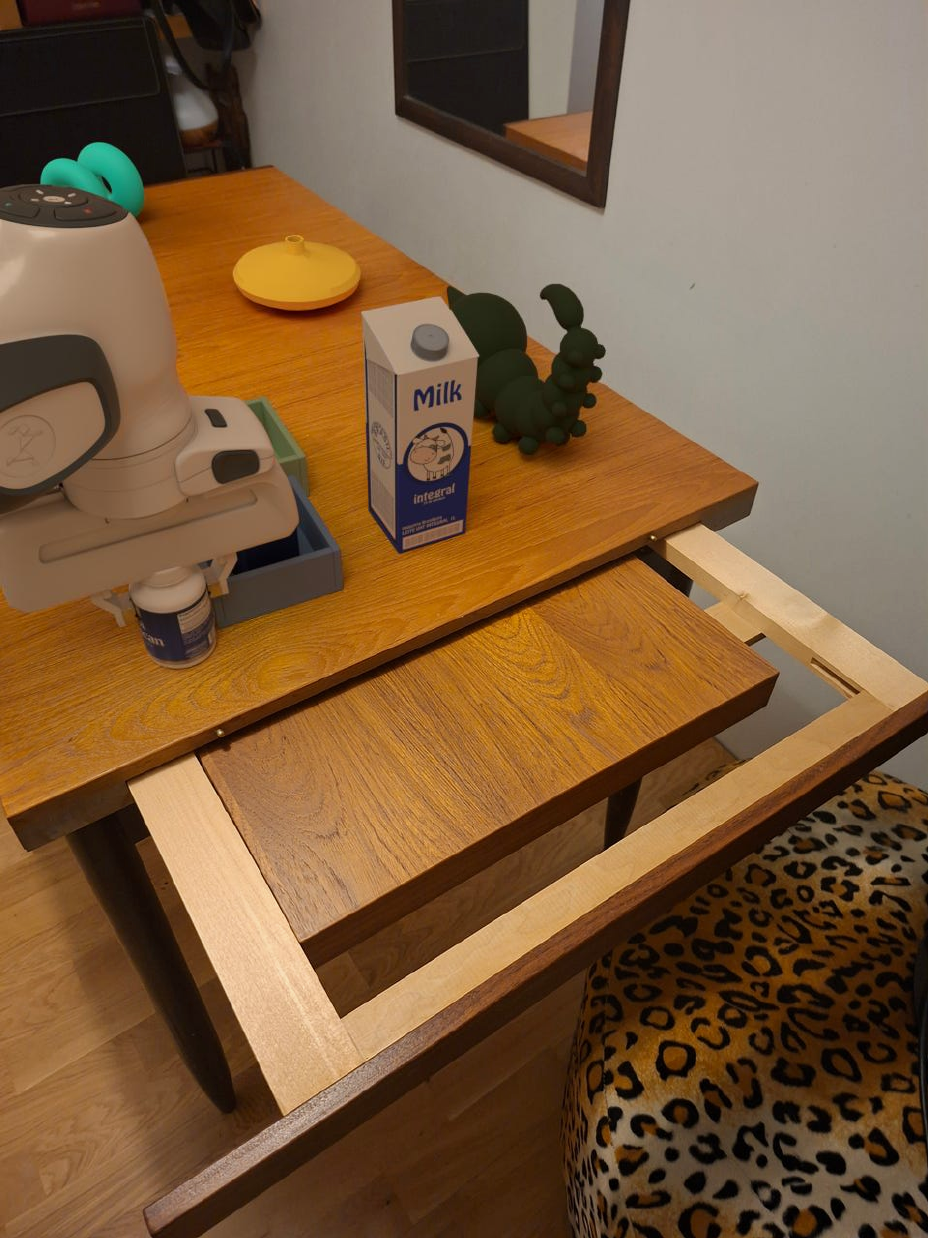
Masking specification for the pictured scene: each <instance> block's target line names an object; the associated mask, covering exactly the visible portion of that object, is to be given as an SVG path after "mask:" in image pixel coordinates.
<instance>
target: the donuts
mask: <svg viewBox="0 0 928 1238" xmlns="http://www.w3.org/2000/svg"><path fill="white" fill-rule="evenodd" d="M103 179H105V180H106V181H107V183H108V184H109V185H110V188H111V192H110V190H109V189H108V188H107V187H106V184H105V183H104V180H103ZM40 184H51V185H53V186H64V187H74V188H78V189H81V190H84V191H88V192H91V193H94V194H97V195H99V196H102V197H104V198H106V199H109V200H111V201H113V202H115V203H117V204H119V205H121V206H122V207H123V208H124V209H126V210H127V211H129V212H130V213H131V214H132V215H133V216H134V218H135V219H136V218H137V217H138V216H139V215H140V214H141V212H142V210H143V208H144V205H145V196H146V195H145V187H144V185H143V179H142V177H141V175H140V173H139V171H138V168H137V167H136V165H134V163H133V162H132V160H131V159H130V158H129V157H128V156H127V155H126V154H125V153H124V152H123V151H122V150H121V149H119V148H117V147H116V146H114V145H112V144H111V143H107V142H103V141H102V142H99V141H97V142H92V143H90V144H87V145H86V146H84V147H83V149H82V150H80V153H79V155H78V157H77V160H73V159H70V158H65V157H64V158H63V157H61V158H56V159H55V158H54V159H53V160H51V161H49V162H48V163H47V164H46V165H45V166H44V168H43V169H42V172H41V175H40Z"/></svg>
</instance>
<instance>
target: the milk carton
mask: <svg viewBox="0 0 928 1238" xmlns="http://www.w3.org/2000/svg"><path fill="white" fill-rule="evenodd" d="M360 312H361V313H360V315H361V325H362V342H363V343H362V349H363V350H362V351H363V352H362V353H363V381H364V383H363V384H364V410H365V411H364V413H365V440H366V442H365V443H366V446H365V447H366V472H367V475H366V476H367V502H368V503H367V504H368V505H367V506H368V509H367V511H368V512H369V513H370V515H371V516H372V518H373V519H374V521H375V522H376V523H377V525H378V526H379V528H380V529H381V531H382V532H383V533H384V535H385V537H386V538H387V540H388V541H389V542H390V543H391V545H392V546H393V548H394V549H395V550H396V552H397V553H398V554H402V553H405V552H409V551H411V550H416V549H418V548H421V547H424V546H428V545H431V544H434V543H437V542H440V541H444V540H447V539H450V538H453V537H457V536H460V535H463V534H465V533H466V526H467V525H466V524H467V510H468V497H469V496H468V495H469V483H470V470H471V457H472V456H471V455H472V452H471V451H472V443H473V442H472V441H473V428H474V427H473V426H474V416H473V415H474V401H475V395H476V394H475V387H476V374H477V360H478V357H479V354H478V353H477V351H476V349H475V348H474V346H473V345H472V343H471V341H470V340H469V338H468V336H467V335H466V333H465V331H464V330H463V328H462V327H461V325H460V323H459V322H458V320H457V318H456V317H455V315H454V314H453V312H452V310H450V309H449V306H448V304H446V302H445V300H444V299H443V298H442V296H441V295H438V296H434V297H433V296H432V297H427V298H423V299H418V300H413V301H408V302H403V303H398V304H392V305H387V306H383V307H382V306H381V307H377V308H372V309H367V310H362V311H360Z"/></svg>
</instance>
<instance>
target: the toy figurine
mask: <svg viewBox="0 0 928 1238" xmlns="http://www.w3.org/2000/svg"><path fill="white" fill-rule="evenodd" d="M446 296H447V297H446V298H447V302H448V304H447V305H448V308H449V309H450V310H452V312H453V314H454V315H455V317H456V318H457V320H458V322H459V323H460V325H461V327H462V328H463V330H464V331H465V333H466V335H467V336H468V338H469V340H470V341H471V343H472V345H473V346H474V348H475V349H476V351H477V353H478V354H479V357H478V360H477V374H476V387H475V401H474V415H473V417H474V418H476V419H479V420H481V419H485V418H488V417H489V415H491V413H494V415H495V417H496V420H497V421H498V423H495V425H494V426H493V428H492V430H491V433H492V436H493V438H494V440H495V442H498V443H507V442H509V441H510V440H511V438H513V437H512V436H515V437H520V439H519V441H518V450H519V452H520V453H521V454H523V455H524V456H526V457H527V456H528V457H530V456H533V455H535V454H537V452H538V451H539V449H540V444H544V443H549V444H550V445H552V446H555V447H560V448H561V447H563V446H566V445H567V444H568V442H570V440H571V437H572V438H575V439H576V438H577V439H579V438H582V437H584V436H585V435H586V434H587V432H588V431H587V429H588V428H587V423H586V422H585V421H584V420H582V419H579V418H580V413H581V411H580V409H581V408H583V409H588V410H589V409H592V408H594V407H595V406H596V405H597V402H598V401H597V396H596V395H595V394H594V393H592V392H588V391H589V390H588V385H589V384H590V383H592V384H597V383H598V382H599V381H601V379H602V378H603V371H602V369H601V367H600V366H598V365H595V363H594V362H595V360H601V359H602V358H604V357H605V356H606V353H607V349H606V347H605V346H604V345H603V344H601V343H599V341H598V337H597V336H596V335H595V334H594V333H593V331H591V330H589V329H587V328H585V327H582V325H583V322H584V318H585V313H584V307H583V304H582V301H581V300H580V299H579V297H578V295H577V294H576V293H575V292H574V291H573V290H572V289H571V288H570V287H568V286H566V285H564V284H561V283H549V284H548V285H545V286H544V287H543V288H542V289H541V290H540V293H539V298H540V300H542V301H547V302H548V304H549V306H550V308H551V310H552V313H553V316H554V317H555V320H556V321H557V323H558V325H559V327H561V328H562V329H563V330H564V331H566V333H565V334H564V335H563V337H562V338H561V341H560V343H559V352H557V354H555V356H554V358H553V360H552V362H551V366H550V374H549V375H548V376H547V377H546V378H545V380H542V379H540V378H539V371H538V369H537V366H536V364H535V363H534V361H533V359H532V358H531V357H530V356H529V354H528V353H526V352H527V349H528V333H527V327H526V325H525V322H524V320H523V317H522V315H521V314H520V312H519V310H517V308H516V307H515V305H513V304H512V302H510V301H509V300H507V299H505V298H504V297H503V296H500V295H497V294H494V293H490V292H474V293H469V294H465V293H464V292H462V291H460V290H459V289H457V288H455V287H454V286H452V285H448V286H447V287H446Z"/></svg>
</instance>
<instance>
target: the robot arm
mask: <svg viewBox="0 0 928 1238" xmlns="http://www.w3.org/2000/svg"><path fill="white" fill-rule="evenodd" d="M153 252H154V251H153V250H152V248H151V246H150V243H149V241H148V238H147V237H146V235H145V232H144V231H143V228H142V227H141V225H140V223H139V222H138V220H137V219H136V218H134V216H133V215H132V214H131V213H130V212H129V211H127V210H126V209H124V208H123V207H122V206H121V205H119V204H117V203H115V202H113V201H111V200H109V199H106V198H104V197H102V196H99V195H97V194H94V193H91V192H88V191H84V190H81V189H78V188H74V187H64V186H53V185H51V184H41V183H29V184H17V185H11V186H5V187H1V188H0V587H1V589H2V593H3V595H4V598H5V600H6V602H7V604H8V606H9V607H10V608H11V609H13V610H16V611H18V612H21V613H24V614H34V613H37V612H40V611H44V610H48V609H51V608H53V607H57V606H61V605H63V604H67V603H70V602H74V601H77V600H80V599H84V598H86V597H89V599H90V601H91V604H93V605H95V607H99V608H100V609H102V610H103V611H106V612H107V613H109V614H111V615H114V618H115V621H116V624H117V625H118V628H123V627H125V626H129V625H132V624H136V623H138V621H139V620H138V617H137V614H136V611H135V608H134V605H133V602H132V600H131V596H130V591H126V592H122V593H118V594H117V593H116V592H115V591H113V590H114V589H117V588H120V587H124V586H127V585H129V584H131V583H134V582H137V581H141V580H144V579H147V578H151V577H152V576H153V574H154V573H156V572H159V571H163V570H167V569H170V568H174V567H181V568H184V567H187V566H191V565H194V564H198V563H201V562H204V561H208V560H211V559H213V561H212V564H211V567H208V568H205V569H202V572H203V574H204V577H205V581H206V585H207V590H208V595H209V597H210V599H211V598H214V597H218V596H221V595H224V594H228V593H229V590H228V586H227V581H226V579H227V578H228V576H229V575H230V573H231V571H232V569H233V567H234V565H235V563H236V561H237V555H236V552H238V551H241V550H244V549H248V548H251V547H254V546H258V545H261V544H264V543H268V542H271V541H274V540H278V539H281V538H285V537H288V536H290V535H291V534H292V533H293V531H294V530H295V528H296V527H297V525H298V523H299V515H298V510H297V505H296V501H295V497H294V494H293V491H292V488H291V485H290V482H289V480H288V478H287V476H286V474H285V473H284V471H283V469H282V467H281V466H280V464H279V462H278V461H277V459H276V457H275V454H274V450H273V447H272V444H271V442H270V439H269V437H268V435H267V433H266V431H265V429H264V427H263V426H262V424H261V422H260V421H259V419H258V418H257V417H256V415H255V414H254V413H253V411H252V410H251V409H250V408H249V407H248V405H247V404H246V403H245V402H244V401H245V400H243V399H241V398H238V397H235V396H214V395H198V394H188V392H187V390H186V388H185V387H184V385H183V383H182V381H181V380H180V377H179V374H178V370H177V369H178V368H177V361H178V360H177V359H178V351H179V350H178V349H179V348H178V339H177V334H176V330H175V325H174V321H173V317H172V312H171V308H170V304H169V300H168V296H167V292H166V289H165V285H164V281H163V278H162V275H161V273H160V268H159V265H158V263H157V261H156V258H155V255H154V253H153Z"/></svg>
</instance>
